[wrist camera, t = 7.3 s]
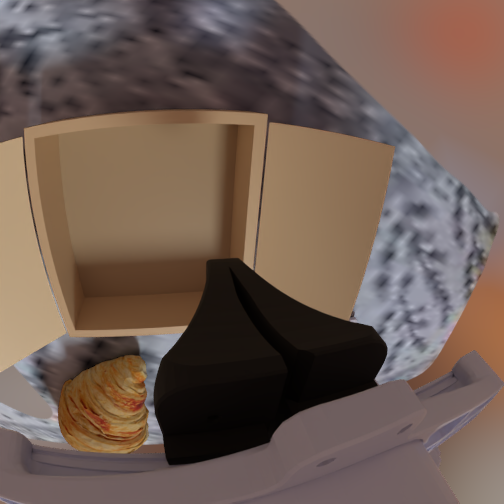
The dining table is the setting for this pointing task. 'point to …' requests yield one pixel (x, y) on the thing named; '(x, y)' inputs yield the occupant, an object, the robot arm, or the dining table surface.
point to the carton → (142, 211)
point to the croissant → (106, 407)
